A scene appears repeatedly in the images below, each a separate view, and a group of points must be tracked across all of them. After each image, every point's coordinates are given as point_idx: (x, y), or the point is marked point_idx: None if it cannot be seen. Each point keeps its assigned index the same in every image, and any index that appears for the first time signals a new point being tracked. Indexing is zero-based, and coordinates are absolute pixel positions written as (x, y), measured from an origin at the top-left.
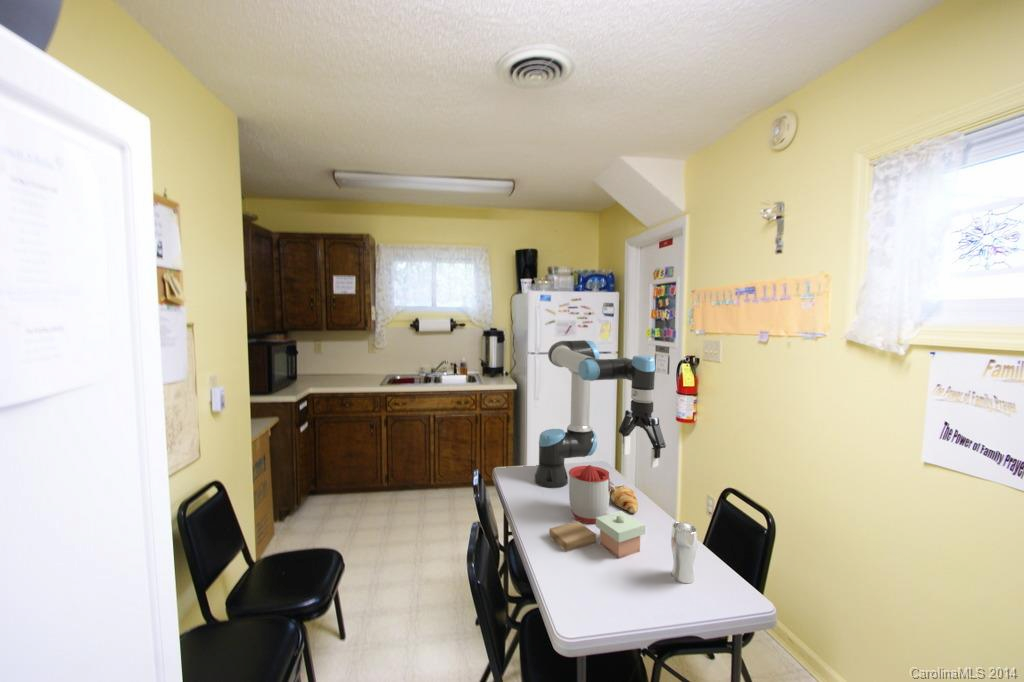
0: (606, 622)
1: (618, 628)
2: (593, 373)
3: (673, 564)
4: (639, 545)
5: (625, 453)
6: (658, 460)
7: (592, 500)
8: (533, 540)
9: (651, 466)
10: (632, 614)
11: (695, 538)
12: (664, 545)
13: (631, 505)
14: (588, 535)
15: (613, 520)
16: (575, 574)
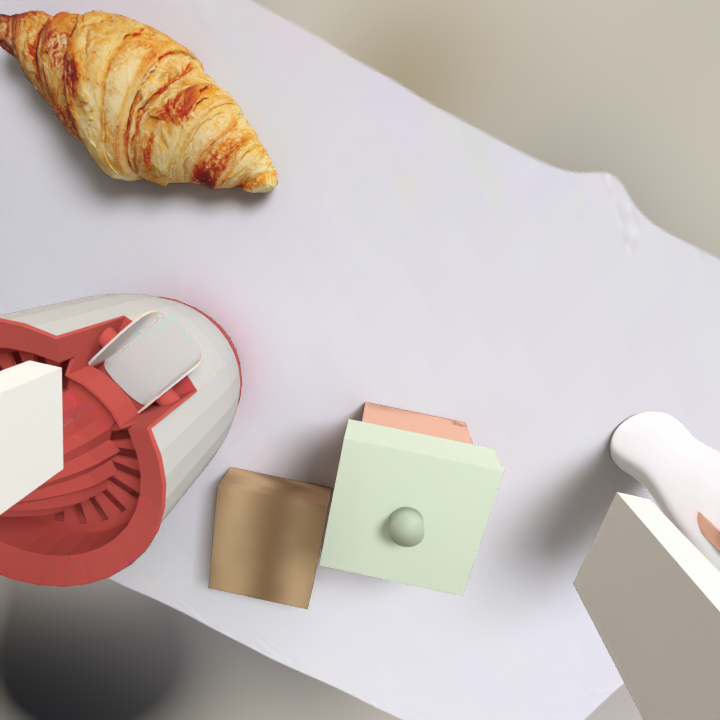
0: (566, 704)
1: (596, 701)
2: None
3: (637, 478)
4: (468, 434)
5: (50, 462)
6: (716, 574)
7: (198, 476)
8: (210, 605)
9: (589, 593)
10: (599, 655)
11: None
12: (510, 315)
13: (240, 174)
14: (317, 532)
15: (382, 535)
16: (405, 636)
